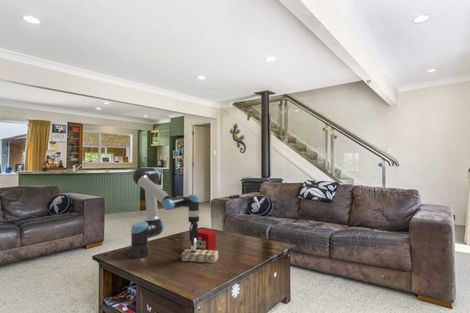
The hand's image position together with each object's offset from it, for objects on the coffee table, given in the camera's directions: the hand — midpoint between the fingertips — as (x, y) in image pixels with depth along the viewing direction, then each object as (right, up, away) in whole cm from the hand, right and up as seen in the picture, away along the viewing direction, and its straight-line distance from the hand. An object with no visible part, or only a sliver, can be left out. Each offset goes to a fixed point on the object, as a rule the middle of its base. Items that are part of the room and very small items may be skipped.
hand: (193, 248), depth 198 cm
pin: (0, -4, 0) cm, 4 cm away
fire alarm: (+5, -8, +18) cm, 20 cm away
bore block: (+5, -7, -1) cm, 9 cm away
